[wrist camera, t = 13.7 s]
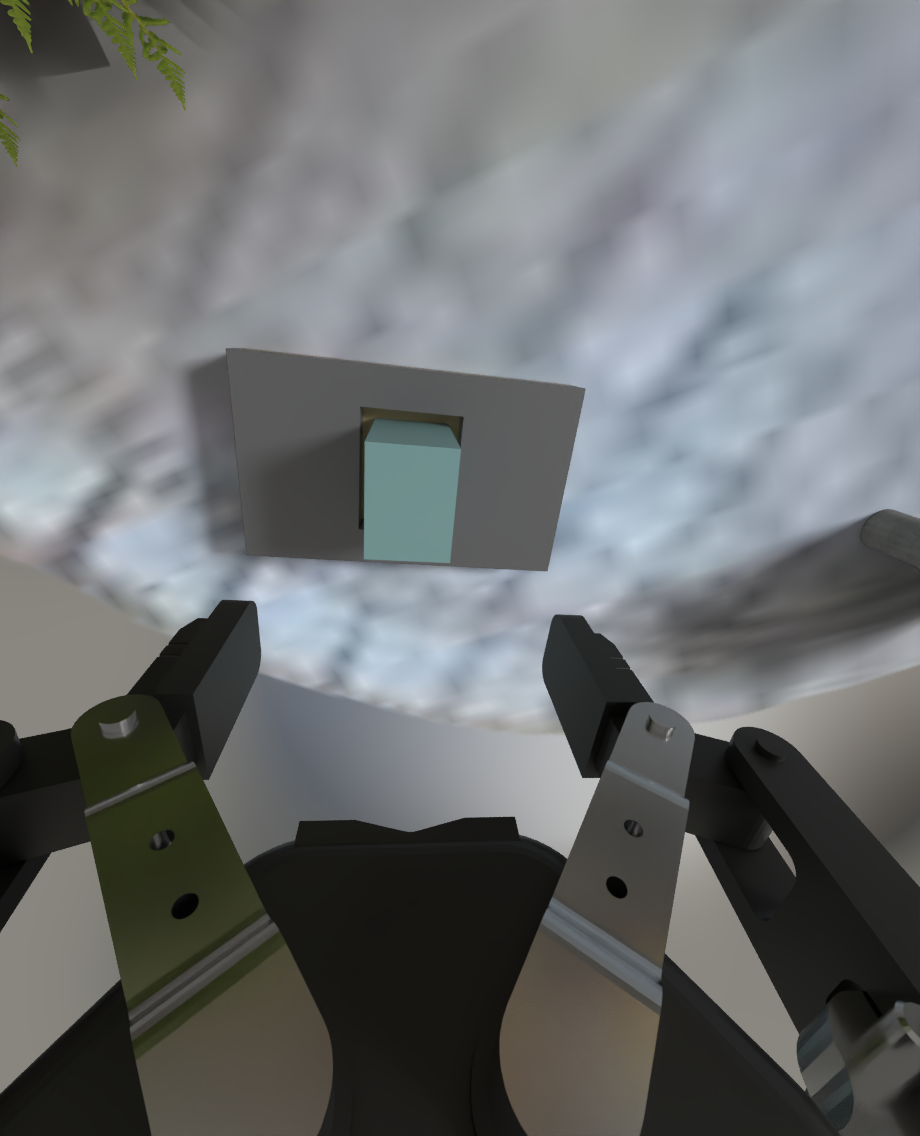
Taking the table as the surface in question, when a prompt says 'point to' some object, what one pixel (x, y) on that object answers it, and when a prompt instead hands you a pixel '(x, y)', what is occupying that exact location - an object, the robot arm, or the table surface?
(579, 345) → the table surface
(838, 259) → the table surface
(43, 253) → the table surface
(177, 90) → the fern plant
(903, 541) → the hip flask
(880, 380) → the table surface
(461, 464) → the block
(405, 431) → the plug
